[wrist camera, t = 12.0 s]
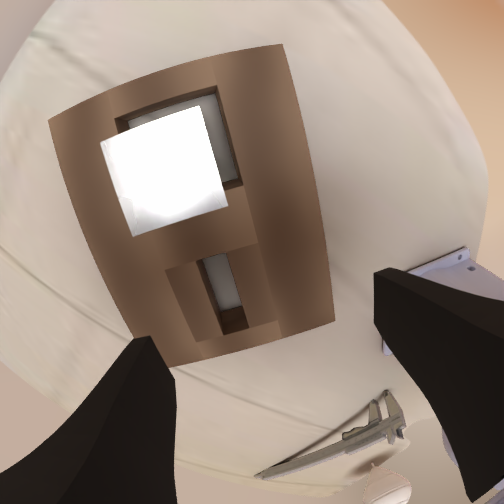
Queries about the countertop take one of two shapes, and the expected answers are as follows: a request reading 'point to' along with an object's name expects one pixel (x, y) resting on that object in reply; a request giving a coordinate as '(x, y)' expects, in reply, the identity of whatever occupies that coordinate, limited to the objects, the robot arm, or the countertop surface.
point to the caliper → (349, 440)
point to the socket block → (211, 223)
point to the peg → (164, 171)
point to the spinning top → (386, 487)
